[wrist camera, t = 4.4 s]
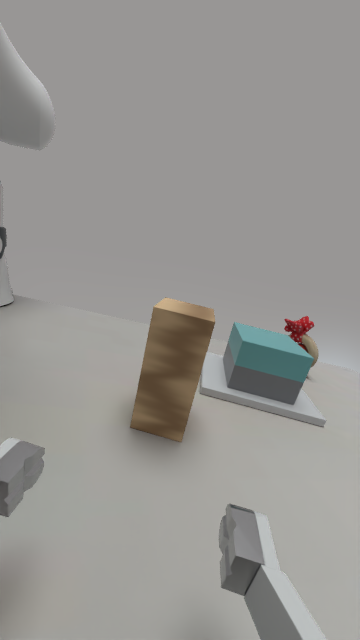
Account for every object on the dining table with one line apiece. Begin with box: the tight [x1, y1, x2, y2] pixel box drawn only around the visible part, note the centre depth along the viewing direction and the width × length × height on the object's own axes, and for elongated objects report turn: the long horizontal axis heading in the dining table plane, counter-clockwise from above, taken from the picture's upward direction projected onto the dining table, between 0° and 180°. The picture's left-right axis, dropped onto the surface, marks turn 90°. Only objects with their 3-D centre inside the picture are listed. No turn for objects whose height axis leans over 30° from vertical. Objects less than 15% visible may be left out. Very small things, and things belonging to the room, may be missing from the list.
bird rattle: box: [285, 316, 318, 368], centre depth 43 cm, size 6×11×9 cm
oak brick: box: [130, 298, 215, 442], centre depth 21 cm, size 5×5×12 cm
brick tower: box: [200, 322, 326, 427], centre depth 32 cm, size 16×12×8 cm
